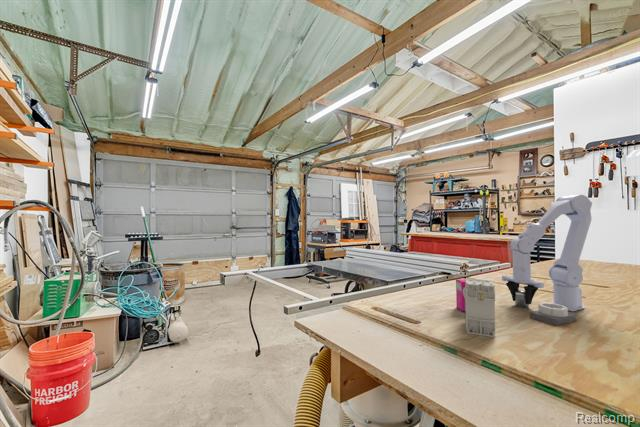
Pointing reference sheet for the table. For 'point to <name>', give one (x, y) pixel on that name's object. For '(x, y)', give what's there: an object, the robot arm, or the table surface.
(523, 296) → the lens
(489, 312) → the circuit breaker
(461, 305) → the supplement box
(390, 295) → the table surface
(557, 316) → the camera body
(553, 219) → the robot arm
